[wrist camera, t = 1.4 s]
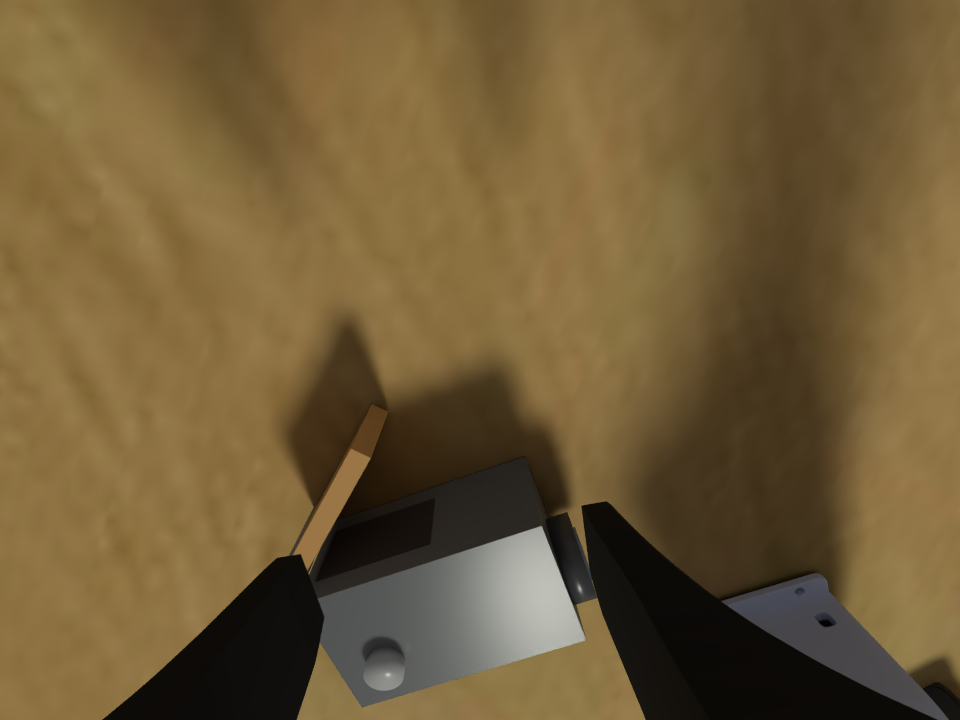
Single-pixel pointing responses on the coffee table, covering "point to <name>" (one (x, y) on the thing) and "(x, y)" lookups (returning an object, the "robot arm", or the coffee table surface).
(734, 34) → the coffee table surface
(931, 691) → the electronic device
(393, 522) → the camera body
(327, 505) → the side door
